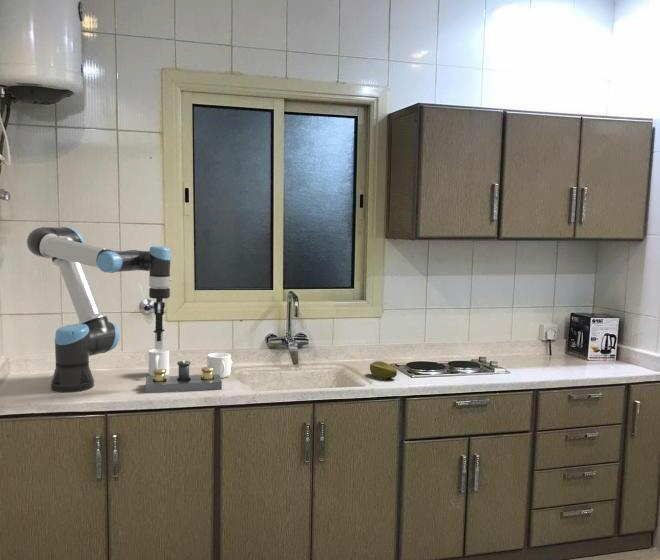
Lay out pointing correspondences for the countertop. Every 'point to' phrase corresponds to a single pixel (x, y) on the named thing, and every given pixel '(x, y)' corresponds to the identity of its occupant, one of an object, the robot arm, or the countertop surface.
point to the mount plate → (183, 384)
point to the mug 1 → (158, 360)
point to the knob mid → (183, 370)
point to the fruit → (382, 370)
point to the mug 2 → (220, 363)
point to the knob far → (207, 373)
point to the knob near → (159, 375)
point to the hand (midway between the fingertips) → (158, 348)
